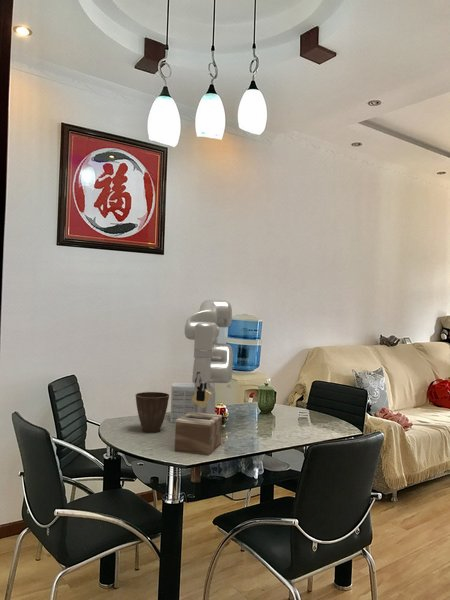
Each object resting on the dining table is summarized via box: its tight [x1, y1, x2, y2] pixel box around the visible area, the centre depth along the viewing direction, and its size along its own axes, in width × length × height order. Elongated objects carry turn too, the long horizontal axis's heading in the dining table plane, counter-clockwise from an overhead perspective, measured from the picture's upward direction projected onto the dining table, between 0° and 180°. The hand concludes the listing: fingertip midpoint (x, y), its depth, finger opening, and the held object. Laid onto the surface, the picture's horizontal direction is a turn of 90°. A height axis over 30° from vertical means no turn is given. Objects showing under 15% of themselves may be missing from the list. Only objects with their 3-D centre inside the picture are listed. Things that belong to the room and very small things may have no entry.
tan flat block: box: [191, 389, 212, 408], centre depth 204 cm, size 2×6×6 cm, turn 74°
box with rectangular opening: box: [174, 412, 223, 456], centre depth 204 cm, size 16×14×12 cm
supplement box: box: [170, 381, 195, 423], centre depth 252 cm, size 13×13×18 cm
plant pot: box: [135, 391, 170, 433], centre depth 228 cm, size 15×15×16 cm
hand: (201, 399), depth 204 cm, fingers closed on tan flat block, 2 cm apart
